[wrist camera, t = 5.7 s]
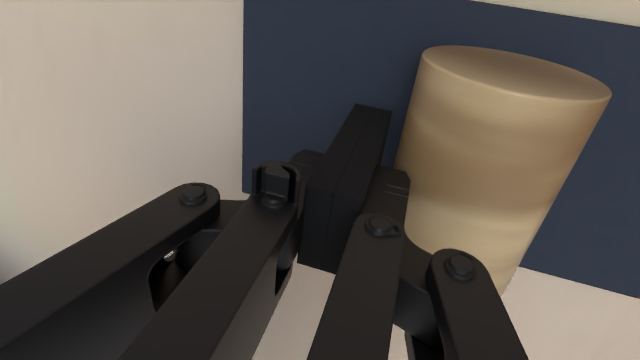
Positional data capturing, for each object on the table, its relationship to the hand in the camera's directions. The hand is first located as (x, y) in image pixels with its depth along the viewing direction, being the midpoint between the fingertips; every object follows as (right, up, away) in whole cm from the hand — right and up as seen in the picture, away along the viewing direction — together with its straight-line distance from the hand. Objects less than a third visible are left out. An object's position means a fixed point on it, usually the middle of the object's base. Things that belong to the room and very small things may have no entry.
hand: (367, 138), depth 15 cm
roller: (+4, -2, -2) cm, 4 cm away
